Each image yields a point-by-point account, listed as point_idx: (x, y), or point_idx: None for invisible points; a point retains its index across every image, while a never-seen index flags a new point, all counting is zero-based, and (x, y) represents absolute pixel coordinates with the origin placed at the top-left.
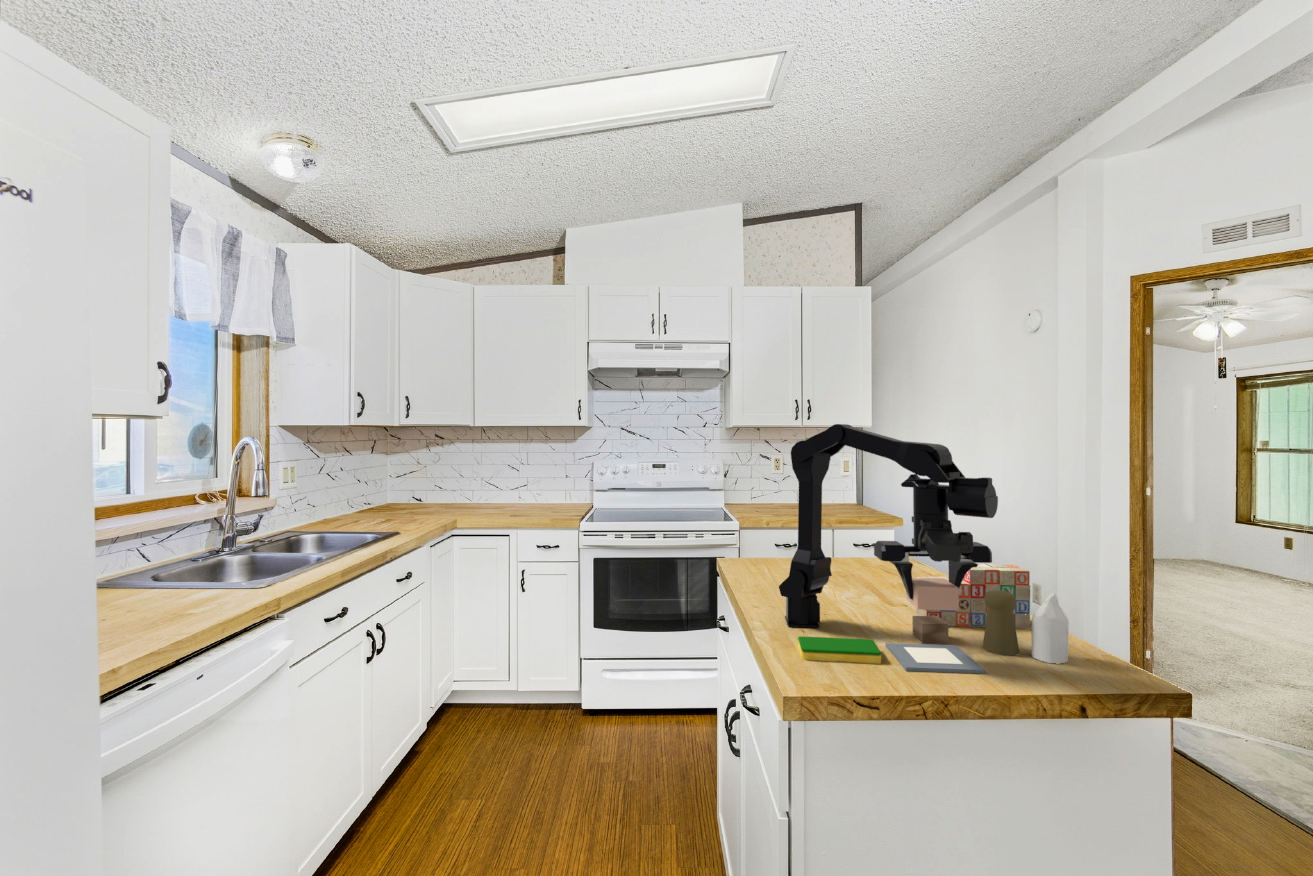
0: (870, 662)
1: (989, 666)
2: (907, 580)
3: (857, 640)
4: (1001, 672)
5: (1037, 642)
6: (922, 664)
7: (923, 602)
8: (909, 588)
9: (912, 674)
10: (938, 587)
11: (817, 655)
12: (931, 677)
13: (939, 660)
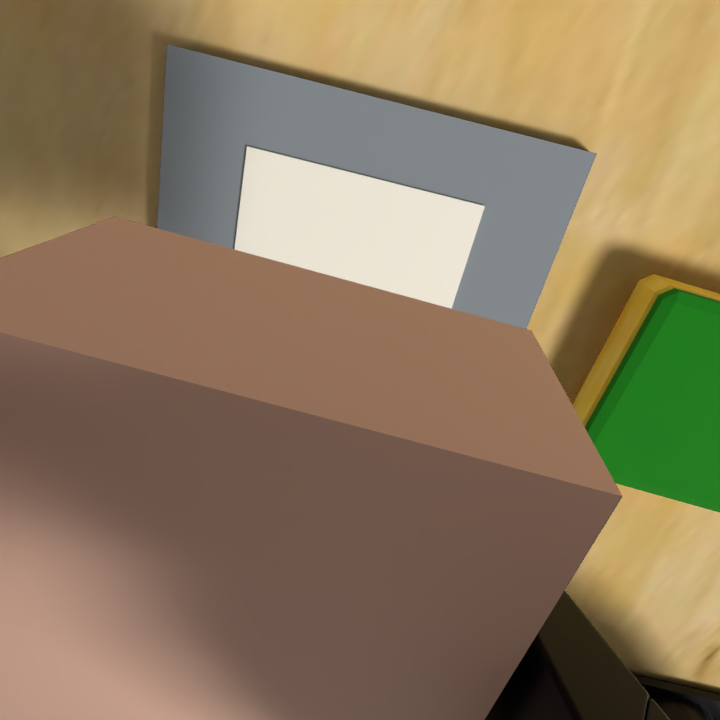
0: (698, 287)
1: (104, 149)
2: (649, 718)
3: (665, 465)
4: (80, 55)
5: None
6: (472, 181)
7: (485, 345)
8: (560, 600)
9: (588, 98)
10: (254, 394)
11: None
12: (511, 36)
13: (348, 215)
